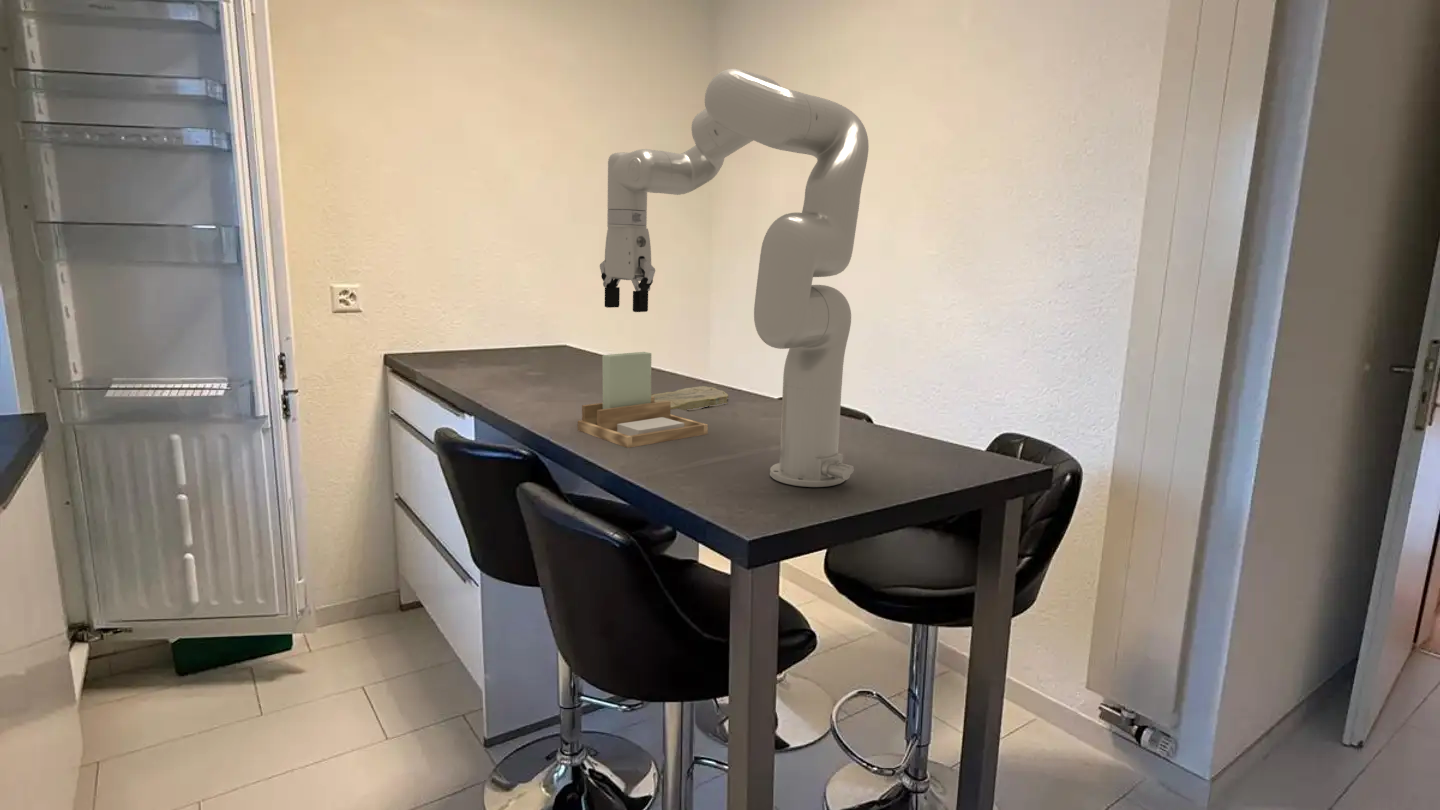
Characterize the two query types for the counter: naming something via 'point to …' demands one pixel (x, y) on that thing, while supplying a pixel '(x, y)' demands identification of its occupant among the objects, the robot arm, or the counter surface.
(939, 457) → the counter surface
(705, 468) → the counter surface
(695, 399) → the stone slab
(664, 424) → the upper offcut
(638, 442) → the tray
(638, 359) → the pale green slab
